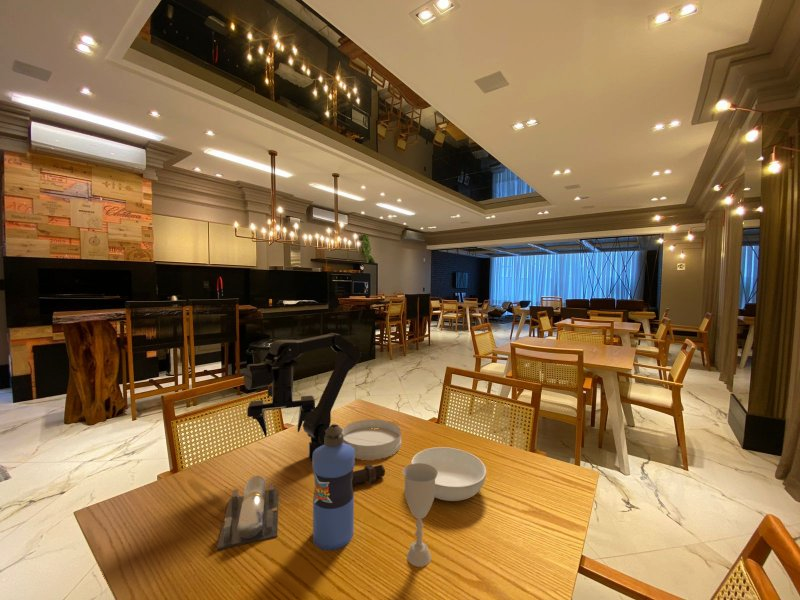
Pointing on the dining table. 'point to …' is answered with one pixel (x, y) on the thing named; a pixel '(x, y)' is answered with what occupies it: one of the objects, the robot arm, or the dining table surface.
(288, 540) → the dining table surface
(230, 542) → the collar cradle
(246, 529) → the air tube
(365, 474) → the bolt
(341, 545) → the water bottle
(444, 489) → the serving bowl
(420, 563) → the chalice
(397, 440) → the dish
